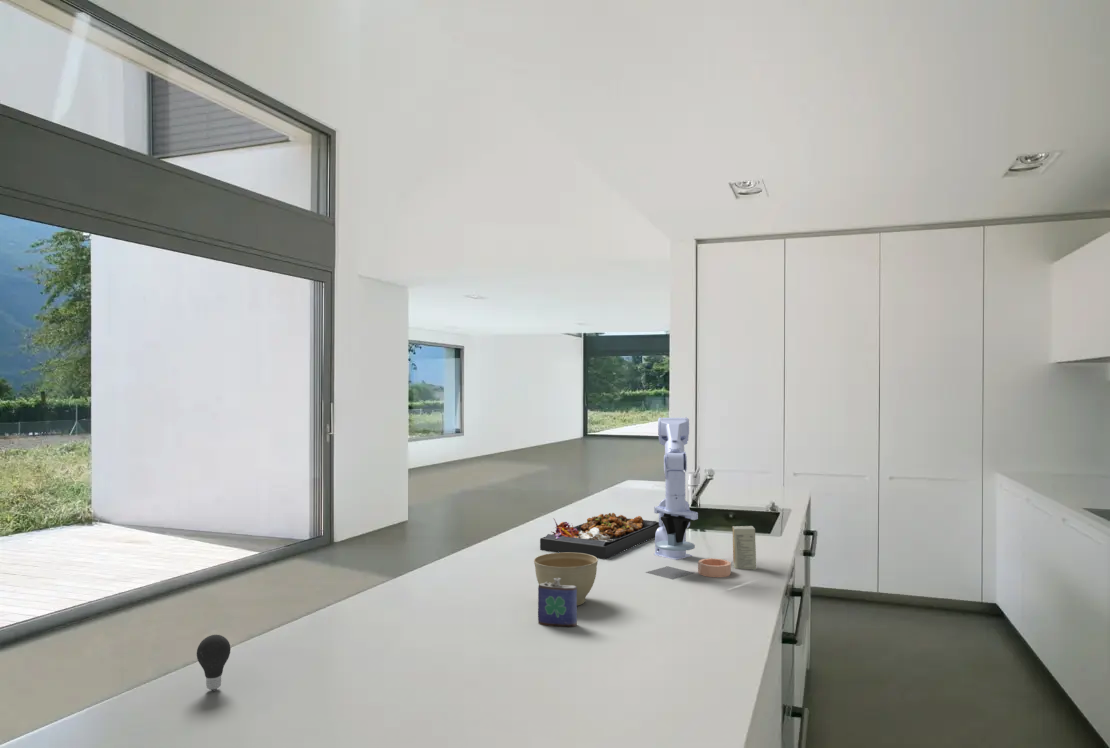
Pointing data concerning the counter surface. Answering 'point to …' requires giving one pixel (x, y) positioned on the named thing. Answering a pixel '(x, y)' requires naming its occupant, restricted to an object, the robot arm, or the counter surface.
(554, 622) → the flask
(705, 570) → the bowl
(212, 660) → the light bulb
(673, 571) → the mat
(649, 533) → the food platter
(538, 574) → the planter bowl
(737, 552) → the skincare box
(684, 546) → the lid
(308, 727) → the counter surface
